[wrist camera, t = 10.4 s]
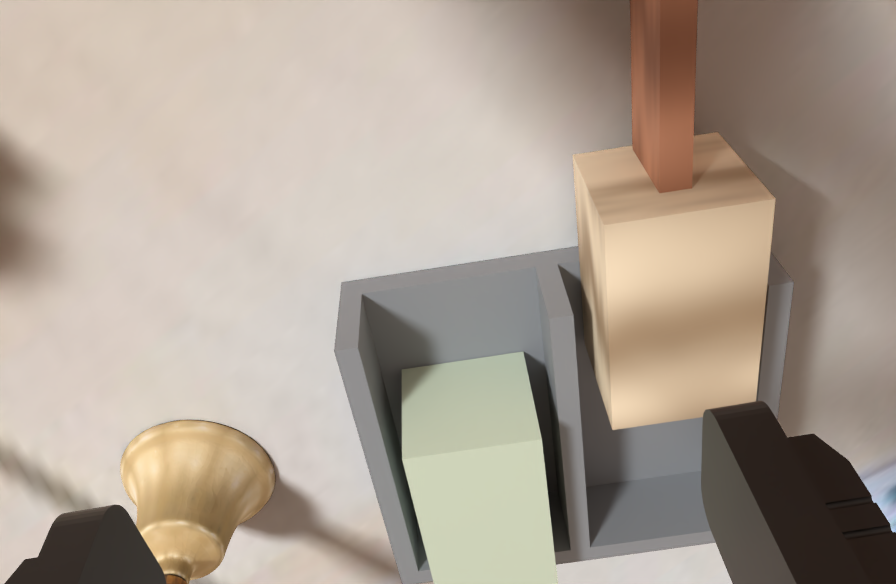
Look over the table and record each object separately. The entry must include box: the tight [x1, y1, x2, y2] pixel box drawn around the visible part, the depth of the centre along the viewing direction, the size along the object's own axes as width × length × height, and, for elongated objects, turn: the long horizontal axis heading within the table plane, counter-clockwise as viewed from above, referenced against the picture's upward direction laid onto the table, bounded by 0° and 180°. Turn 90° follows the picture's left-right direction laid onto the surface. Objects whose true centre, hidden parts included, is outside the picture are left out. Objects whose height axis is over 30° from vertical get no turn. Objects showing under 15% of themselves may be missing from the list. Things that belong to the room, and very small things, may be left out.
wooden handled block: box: [573, 0, 776, 430], centre depth 30 cm, size 21×6×6 cm, turn 8°
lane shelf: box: [334, 246, 794, 584], centre depth 39 cm, size 16×19×5 cm
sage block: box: [402, 352, 558, 584], centre depth 39 cm, size 10×6×6 cm, turn 8°
